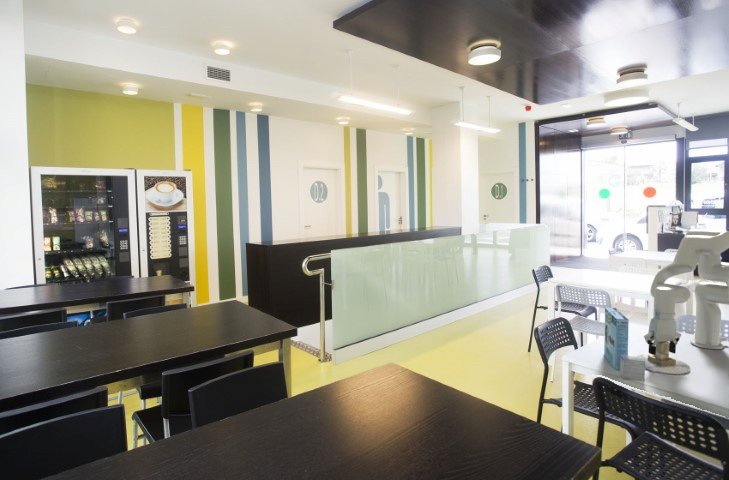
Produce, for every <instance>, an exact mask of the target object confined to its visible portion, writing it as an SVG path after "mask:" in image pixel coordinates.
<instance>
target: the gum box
mask: <svg viewBox="0 0 729 480" xmlns="http://www.w3.org/2000/svg"><path fill="white" fill-rule="evenodd" d="M629 320H630V319H629V318H627V317H626V316H625V315H624V314H623V313H621V311H619V310H618V309H617V308H616V307H604V342H603V343H604V352H603V354H604V356H605V358H606V359H607V360H608V362H609V363H610V364H611V366H612V367H613V370H615V371H620V363H621V356H629V355H628V354H629V324H630V323H629Z"/></svg>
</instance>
